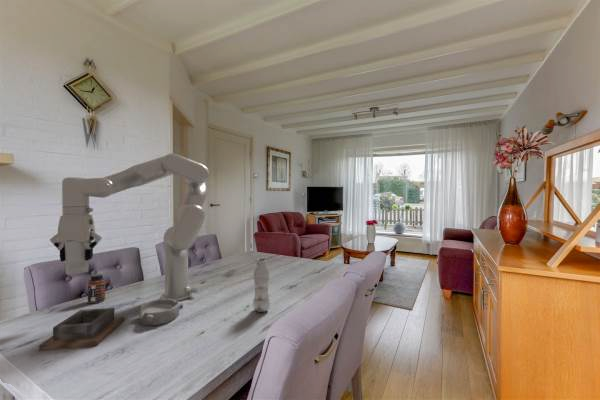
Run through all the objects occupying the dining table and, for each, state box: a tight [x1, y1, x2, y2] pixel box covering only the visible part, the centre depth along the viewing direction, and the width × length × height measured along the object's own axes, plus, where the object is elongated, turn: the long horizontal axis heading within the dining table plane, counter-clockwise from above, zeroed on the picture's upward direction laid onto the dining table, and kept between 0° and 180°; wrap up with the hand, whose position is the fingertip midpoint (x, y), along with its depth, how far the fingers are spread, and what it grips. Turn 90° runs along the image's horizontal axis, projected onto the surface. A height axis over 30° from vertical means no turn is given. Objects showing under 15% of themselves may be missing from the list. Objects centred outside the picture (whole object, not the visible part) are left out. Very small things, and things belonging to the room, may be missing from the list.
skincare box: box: [64, 241, 89, 276], centre depth 98 cm, size 6×4×12 cm
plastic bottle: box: [252, 258, 271, 313], centre depth 105 cm, size 6×7×20 cm
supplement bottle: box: [87, 273, 106, 304], centre depth 114 cm, size 6×6×11 cm
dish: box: [138, 298, 184, 326], centre depth 99 cm, size 14×14×5 cm
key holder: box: [38, 307, 125, 351], centre depth 87 cm, size 15×17×6 cm
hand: (76, 259), depth 98 cm, fingers closed on skincare box, 7 cm apart
